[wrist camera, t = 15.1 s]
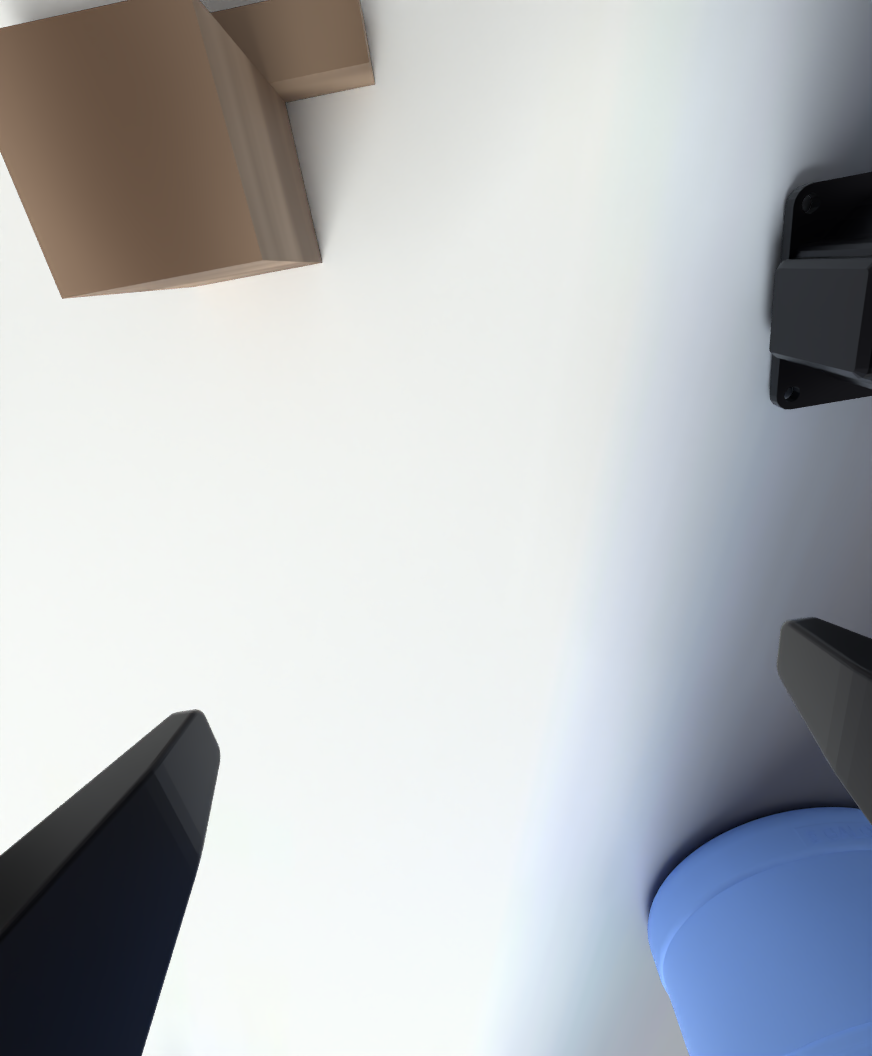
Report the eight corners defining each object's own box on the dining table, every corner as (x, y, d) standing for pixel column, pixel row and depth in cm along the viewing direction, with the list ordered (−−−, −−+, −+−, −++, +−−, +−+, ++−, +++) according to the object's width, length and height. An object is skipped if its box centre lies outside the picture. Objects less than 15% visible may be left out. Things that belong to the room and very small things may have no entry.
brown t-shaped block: (363, 13, 15) (317, -182, 8) (403, 247, 17) (391, 235, 11) (33, 83, 15) (-251, -51, 9) (116, 301, 17) (-60, 321, 11)
